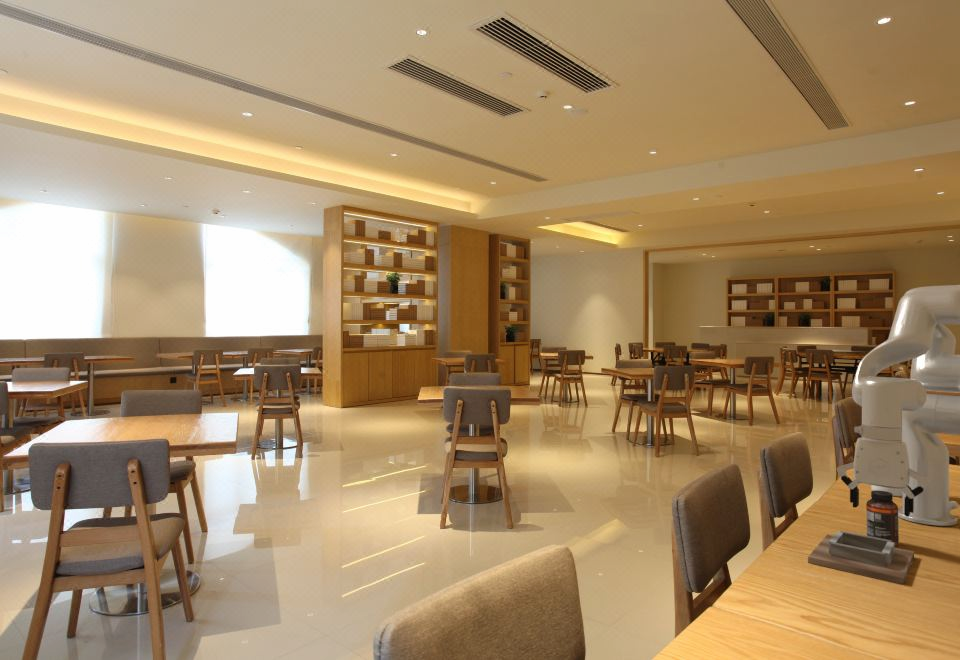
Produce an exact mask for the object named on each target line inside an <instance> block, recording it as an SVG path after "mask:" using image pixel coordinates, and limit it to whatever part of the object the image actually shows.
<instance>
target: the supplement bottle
mask: <svg viewBox="0 0 960 660" xmlns="http://www.w3.org/2000/svg"><path fill="white" fill-rule="evenodd" d="M870 497H871V498H870V499H869V500H867V501H866V504H865V505H866V507H865V508H866V536H871V537H876V538H881V539H886V540H892V542H893V543H895V547H896V546H898V545H899V541H900V540H899V539H900V538H899V537H900V536H899V533H900V532H899V517H898V508H899V507H898V505H897V504H896V503H895V502H894V501H893V500H894V499H893V496H892V493H890V492H887V491H881V490H874V491H872V490H871V491H870Z"/></svg>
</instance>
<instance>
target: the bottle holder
mask: <svg viewBox="0 0 960 660" xmlns="http://www.w3.org/2000/svg"><path fill="white" fill-rule="evenodd" d="M914 558H915V551H913V550H909V549H903V548H899V547H896V546H895V543H893V542H892V540H886V539H881V538H876V537H871V536H867V535H866V534H860V533H853V532H849V531H844V530H841V531H836V532H835V533H834V535H833V534H828V533H827V534H826V535H825V536H824V537H823V539H822V540H821V541H820V542H819V544H818V545H817V546H816V547H815V548H814V549H813V550H812V551H811V553H810V554H809V555H808V556H807V563H808V564H811V565H816V566H822V567H825V568H829V569H833V570H837V571H843V572H847V573H851V574H856V575H859V576H865V577H869V578H874V579H876V580H882V581H886V582H890V583H896V584H899V585H904V584H905V583H906V582H905V581H906V579H907V576H908V574H909V571H910V568H911V566H912V563H913V561H914Z"/></svg>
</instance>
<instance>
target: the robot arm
mask: <svg viewBox="0 0 960 660" xmlns="http://www.w3.org/2000/svg"><path fill="white" fill-rule="evenodd" d="M946 325H960V284H955V285H954V284H953V285H951V284H950V285H930V286H929V285H928V286H920V287H915V288H911V289H909V290H907V291H906V292H905V293H904V295H903V296H902V297H900V299H899V301H898V304H897V308H896V311H895V315H894V318H893V321H892V325H891V328H890V331H889V335H888V338H887V339H886V340H885V341H883V342H882V343H880V344H879V345H877V346H876V347H874V348H873V349H872V350H871V351H869V352H868V353H867V354H866V355H864V357H862V359H861V360H860V362H859V364H858V366H857V368H856V372H855V375H854V378H853V380H852V381H853V382H852V384H851V385H852V386H851V396H852V399H853V402H855V403H856V405H858V406H860V407H861V425H859V426H854V428H853V429H854V430H853V431H854V433H858V434H859V435H860V437H857V439H856V445H855V448H854V458H853V462H849V463H846V464H844V465H839V466H837V467H836V472H837V474H838V475H839V477H840V479H841V481H842V482H843V483H844V484H845V485H846V486H847V487H848V489H849V503H850V504H851V503H852V507H853V508H857V507H859V504H860V489H859V487H858V486H859V485H860V484H864V485H870V486H871V485H875V486H882V487H889V488H897V489H901V490H902V496H901V497H902V499H901V500H902V501H901V502H902V506H900V507H898V518H901V519H903V520H905V521H909V522H913V523H915V524H916V523H917V524H922V525H929V526H938V527H939V526H940V527H949V526H955V525H957V524H958V518H957V517H956V516H955V515H953V514H952V513H951V510H955V509H956V510H957V509H958V508H959V505H960V504H959V503H958V501H955V500H950V453H949V448H948V447H947V445H946V444H945V442H944V440H943V439H942V438H941V437H940V436H939V435H938V434H945V435H954V436H960V395H945V394H935V393H934V394H933V393H928V392H929V391H931V392H940V393H956V394H960V354H955V352H956V345H957V340H956V337H955V335H954V334H953V332H952V331H951V330H950V329H949V327H947V326H946ZM910 360H911V368H910V378H903V377H902V378H901V377H894V376H893V377H891V376H888V377H887V376H877V375H878V374H879V373H880V372H881V371H883V370H885V369H887V368H889V367H891V366H895V365H898V364H900V363H904V362H907V361H910ZM927 391H928V392H927ZM849 470H852V471H853V472H852V473H853V474H852V475H853V479H854V480H852V479H851V478H850V477H849V476H848V475H847V471H849Z"/></svg>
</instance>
